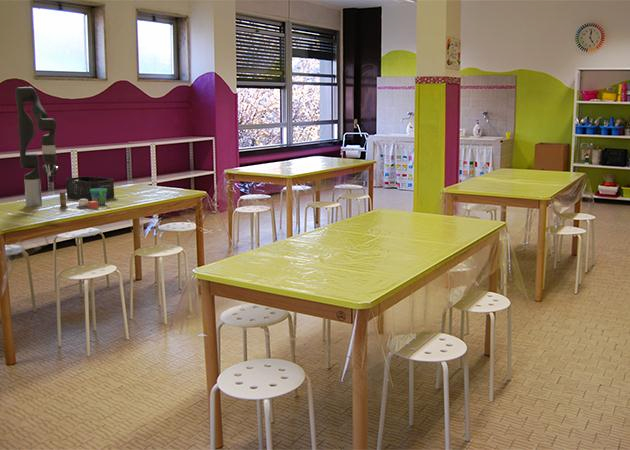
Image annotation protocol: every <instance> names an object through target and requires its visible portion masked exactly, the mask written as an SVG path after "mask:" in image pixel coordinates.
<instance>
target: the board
mask: <svg viewBox="0 0 630 450" xmlns="http://www.w3.org/2000/svg"><path fill="white" fill-rule="evenodd" d="M58 209H59V210H61V209H60V207H59V208H58ZM82 209H91V210H90V211H91V212H92V211H93V210H95V211H97V210H99V205H98V202H97V201H88V205H87V206H79V205H77V206H76V208H70V207H68V208H67V209H64V210H66V211H73V212H74V211H75V212H77V213H79V214H80V213H82V212H84V213H85V212H86V213H87V212H88V210H87V211H85V210H82Z"/></svg>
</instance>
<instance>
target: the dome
mask: <svg viewBox="0 0 630 450" xmlns="http://www.w3.org/2000/svg"><path fill="white" fill-rule="evenodd" d="M77 200H78V199H77ZM77 202H78V206H87V205H88V202H89V201H88V200H87V199H80V200H78V201H77Z"/></svg>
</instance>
